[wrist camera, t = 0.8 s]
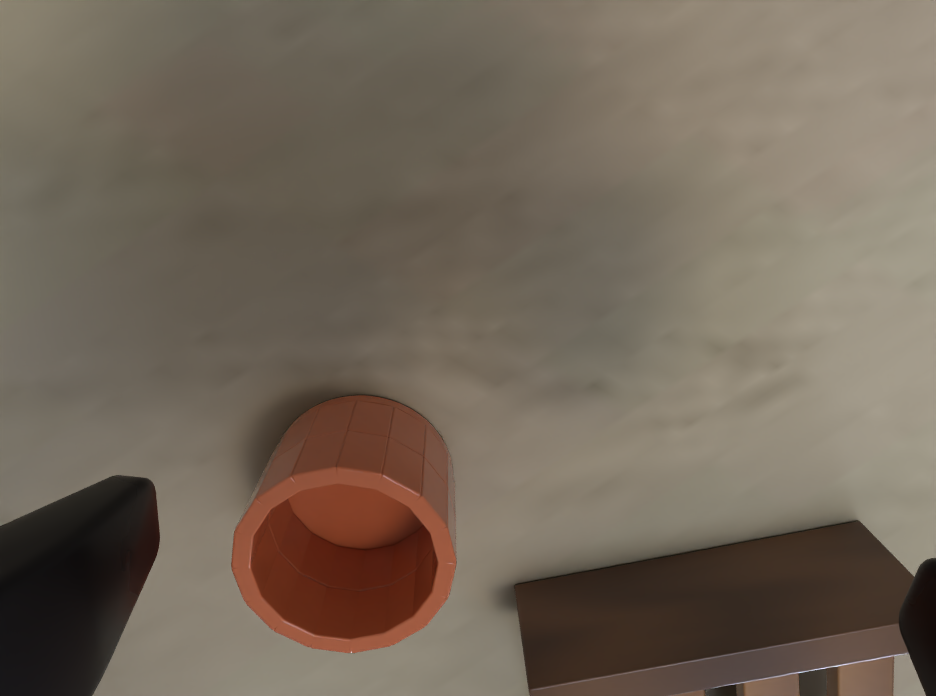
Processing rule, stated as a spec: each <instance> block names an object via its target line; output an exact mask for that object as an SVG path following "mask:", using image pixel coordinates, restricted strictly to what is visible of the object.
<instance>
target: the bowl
mask: <svg viewBox="0 0 936 696" xmlns="http://www.w3.org/2000/svg"><path fill="white" fill-rule="evenodd" d="M231 567H232V571H233V574H234V576H235V579H236V581H237V584H238V587H239V589H240V592H241V594H242V597H243V599H244V601H245V602H246V604H247V605H248V606H249V607H250V608H251V609H252V610H253V611H254V612H255V613H256V614H257V615H258V616H259V617H260V618H261V619H262V620H263V621H264V622H265V623H266V624H267V625H268V626H269V627H270V628H271V629H272V630H273V629H274V631H275V632H277V633H279V634H281V635H283V636H285V637H287V638H290V639H292V640H294V641H296V642H298V643H300V644H302V645H304V646H307V647H311V648H313V649H321V650H329V651H337V652H345V653H351V652H352V653H356V652H362V651H367V650H372V649H378V648H383V647H389V646H391V645H394V644H396V643H398V642H400V641H401V640H403V639H405V638H407V637H408V636H410V635H412V634H414V633H415V632H417V631H419V630H421V629H422V628H424V627H425V626H426V625H427V624H428V623H429V622H430V620H431V619H432V618H433V617H434V615H435V614H436V613H437V612H438V610H439V609H440V608H441V607H442V605H443V604H444V603H445V601H446V600H447V599H448V597H449V595H450V590H451V586H452V581H453V577H454V573H455V568H456V514H455V481H454V477H453V467H452V461H451V458H450V455H449V451H448V449H447V447H446V445H445V443H444V441H443V439H442V438H441V436H440V435H439V433H438V432H437V431H436V430H435V428H434V427H433V426H432V425H431V424H430V423H429V422H428V421H427V420H426V419H424V418H423V417H422V416H421V415H420V414H418V413H416V412H415V411H413V410H412V409H410V408H408V407H406V406H404V405H402V404H400V403H398V402H395V401H392V400H389V399H385V398H380V397H375V396H365V395H359V396H346V397H339V398H335V399H332V400H328V401H326V402H323V403H321V404H318V405H316V406H314V407H313V408H311V409H309V410H307V411H306V412H305V413H303V414H302V415H301V416H299V417H298V418H297V419H296V420H295V421H294V422H293V423H292V424H291V425H290V426H289V428H288V429H287V430H286V432H285V433H284V434H283V436H282V438H281V440H280V442H279V444H278V446H277V447H276V449H275V450H274V452H273V453H272V455H271V457H270V459H269V461H268V463H267V465H266V467H265V469H264V472H263V474H262V476H261V478H260V480H259V482H258V484H257V486H256V488H255V490H254V492H253V494H252V496H251V498H250V500H249V502H248V504H247V506H246V508H245V510H244V512H243V514H242V516H241V518H240V520H239V522H238V524H237V526H236V528H235V531H234V539H233V550H232V561H231Z"/></svg>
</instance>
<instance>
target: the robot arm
mask: <svg viewBox="0 0 936 696" xmlns="http://www.w3.org/2000/svg"><path fill="white" fill-rule="evenodd" d="M159 542H160V532H159V521H158V511H157V500H156V491H155V487H154V484H153V482H152V481H150V480H149V479H148V478H141V477H132V476H122V475H116V476H112V477H109V478H107V479H105V480H102V481H100V482H98V483H96V484H94V485H91V486H89V487H87V488H85V489H82V490H80V491H78V492H76V493H73V494H71V495H69V496H67V497H65V498H62V499H60V500H58V501H56V502H53V503H51V504H49V505H47V506H44V507H42V508H40V509H38V510H36V511H33V512H31V513H29V514H27V515H24V516H22V517H20V518H18V519H15V520H13V521H11V522H9V523H7V524H4V525H2V526H0V696H92V695H93V693H94V691H95V689H96V688H97V686H98V684H99V682H100V680H101V678H102V676H103V674H104V672H105V670H106V668H107V666H108V664H109V662H110V659H111V657H112V655H113V653H114V651H115V648H116V646H117V644H118V642H119V639H120V637H121V635H122V633H123V630H124V628H125V626H126V624H127V621H128V619H129V617H130V615H131V612H132V610H133V608H134V606H135V603H136V601H137V599H138V597H139V594H140V592H141V590H142V588H143V585H144V583H145V581H146V579H147V576H148V574H149V572H150V570H151V567H152V565H153V563H154V561H155V558H156V556H157V552H158V549H159ZM899 628H900V632H901V635H902V638H903V640H904V643H905V645H906V648H907V650H908V653H909V655H910V657H911V660H912V662H913V665H914V667H915V670H916V672H917V674H918V677H919V679H920V682H921V684H922V687H923V689H924V691H925V694H926V696H936V558H931V559H927V560H925V561H924V562H923V563H922V564H921V565H920V567H919V568H918V570H917V573H916V575H915V577H914V579H913V582H912V584H911V586H910V588H909V590H908V593H907V595H906V597H905V599H904V602H903V604H902V606H901V609H900V612H899Z"/></svg>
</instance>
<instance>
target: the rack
mask: <svg viewBox="0 0 936 696" xmlns="http://www.w3.org/2000/svg"><path fill="white" fill-rule="evenodd" d="M913 579H914V576H913V575H912V574H911V573H910V572H909V571H908V570H907V569H906V568H905V567H904V566H903V565H902V564H901V563H900V562H899V561H898V560H897V559H896V558H895V557H894V556H893V555H892V554H891V553H890V552H889V551H888V550H887V549H886V547H885V546H884V545H883V544H882V543H881V542H880V541H879V540H878V539H877V538H876V537H875V536H874V535H873V534H872V533H871V532H870V531H869V530H868V529H867V528H866V527H865V526H864V525H863V524H862V523H861V522H860V521H857V522H851V523H846V524H841V525H835V526H830V527H824V528H819V529H814V530H808V531H803V532H798V533H792V534H787V535H781V536H776V537H771V538H765V539H760V540H755V541H749V542H744V543H739V544H733V545H728V546H722V547H717V548H712V549H706V550H701V551H696V552H690V553H685V554H679V555H674V556H669V557H663V558H658V559H653V560H647V561H642V562H637V563H631V564H626V565H620V566H615V567H610V568H604V569H599V570H594V571H588V572H583V573H577V574H572V575H567V576H561V577H556V578H551V579H545V580H540V581H534V582H529V583H524V584H518V585H515V587H514V588H515V595H516V602H517V609H518V617H519V624H520V631H521V638H522V646H523V653H524V660H525V667H526V675H527V682H528V689H529V694H530V696H705V689H711V688H717V687H722V686H728V685H734V684H736V692H737V696H800V691H799V673H801V672H807V671H812V670H818V669H824V668H826V675H827V696H893V682H894V656H897V655H903V654H908V650H907V648H906V645H905V643H904V640H903V638H902V635H901V632H900V628H899V612H900V609H901V606H902V604H903V602H904V599H905V597H906V595H907V593H908V590H909V588H910V586H911V584H912V582H913Z"/></svg>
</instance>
